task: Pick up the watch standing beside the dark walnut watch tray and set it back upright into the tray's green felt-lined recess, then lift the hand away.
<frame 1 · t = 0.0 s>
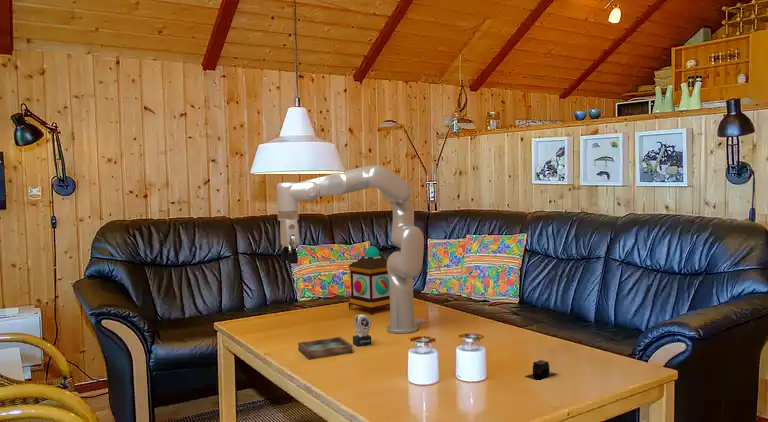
hand: (289, 262, 222), 31 cm above the table, tool pointing down, fingers open, 9 cm apart
watch: (362, 345, 222), on the table
black block: (541, 377, 181), on the table
decorative lantern: (374, 309, 282), on the table
watch tray: (325, 351, 214), on the table
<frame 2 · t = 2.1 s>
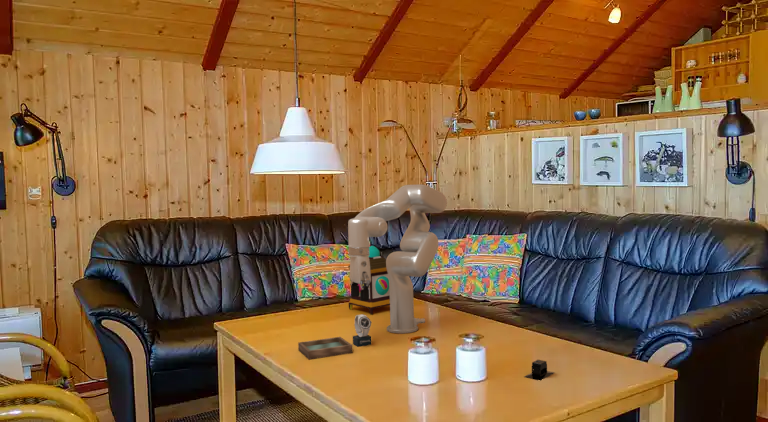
hand: (359, 298, 220), 17 cm above the table, tool pointing down, fingers open, 9 cm apart
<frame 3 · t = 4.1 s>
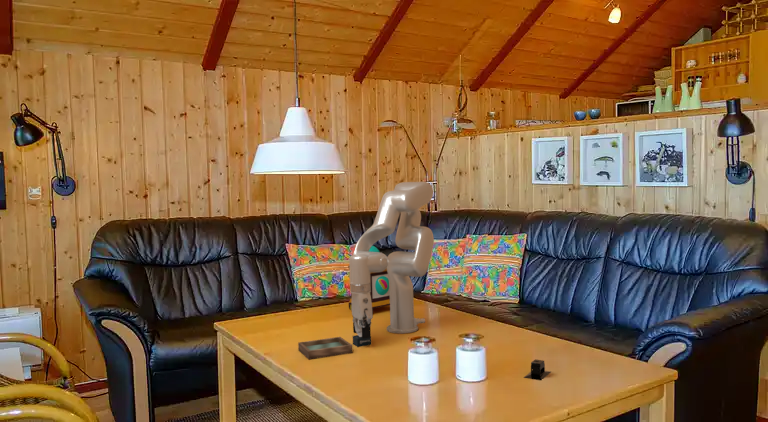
hand: (361, 334, 221), 4 cm above the table, tool pointing down, fingers closed on watch, 8 cm apart
watch: (362, 345, 222), on the table, touching gripper
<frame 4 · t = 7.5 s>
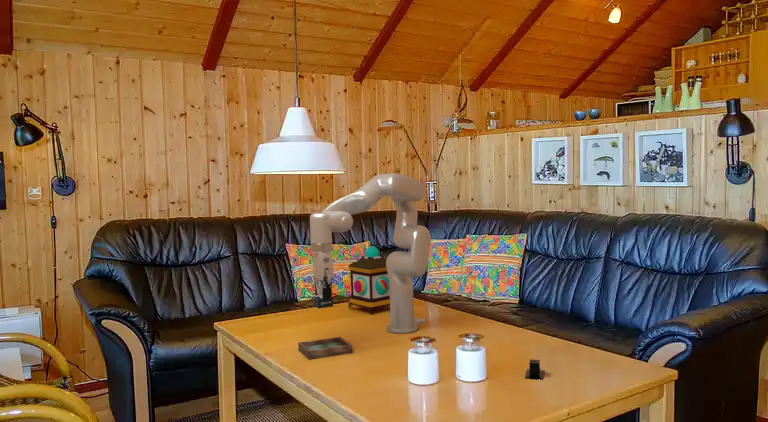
hand: (323, 296, 213), 20 cm above the table, tool pointing down, fingers closed on watch, 8 cm apart
watch: (323, 307, 213), point 16 cm above the table, touching gripper
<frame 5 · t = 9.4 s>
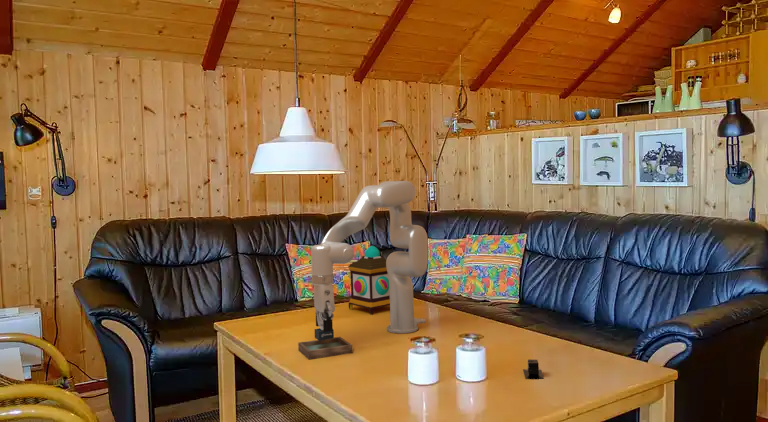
hand: (324, 328, 213), 8 cm above the table, tool pointing down, fingers closed on watch, 8 cm apart
watch: (324, 338, 213), point 5 cm above the table, touching gripper
when the fingers open (6 cm above the table, at t = 11.0 s): watch stays where it is, resting on watch tray.
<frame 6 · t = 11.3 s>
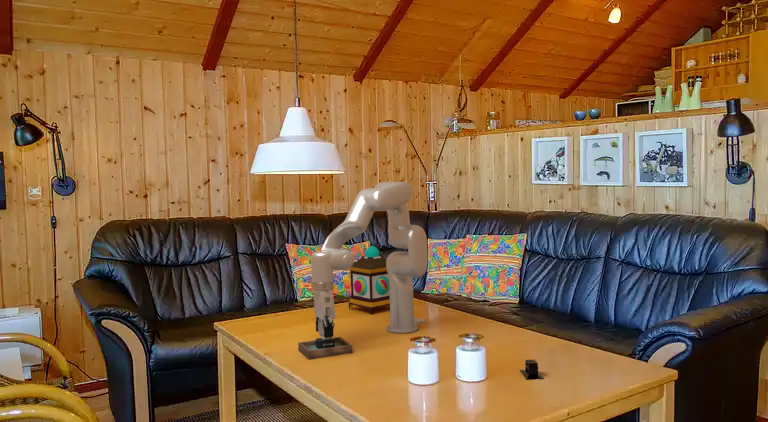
hand: (324, 334, 213), 6 cm above the table, tool pointing down, fingers open, 9 cm apart
watch: (325, 348, 214), point 1 cm above the table, touching watch tray
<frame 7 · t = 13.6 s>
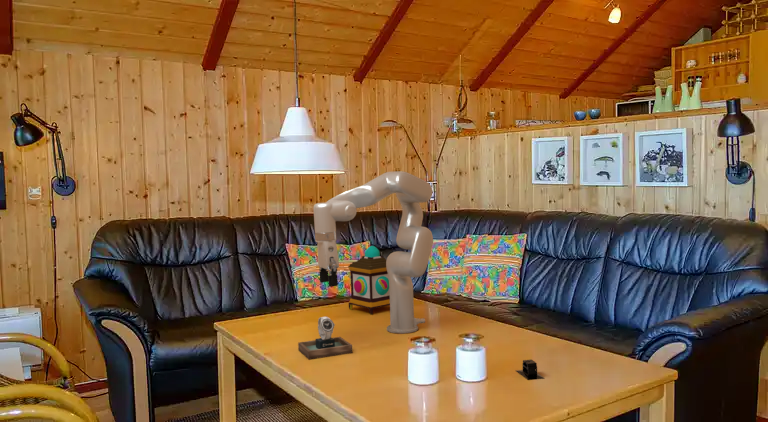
hand: (328, 284, 217), 23 cm above the table, tool pointing down, fingers open, 9 cm apart
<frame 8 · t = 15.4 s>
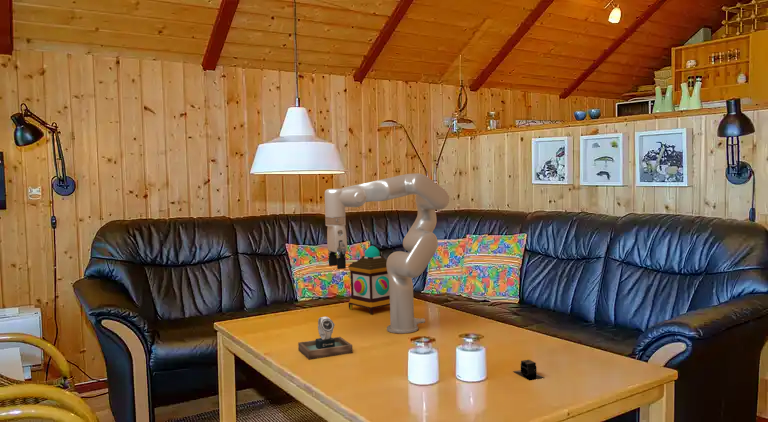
hand: (337, 267, 225), 28 cm above the table, tool pointing down, fingers open, 9 cm apart
at the end: watch inside the target area on the watch tray (0.3 cm from its centre), point 1.1 cm above the watch tray's base; watch tilted 0°; the gripper is holding nothing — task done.
